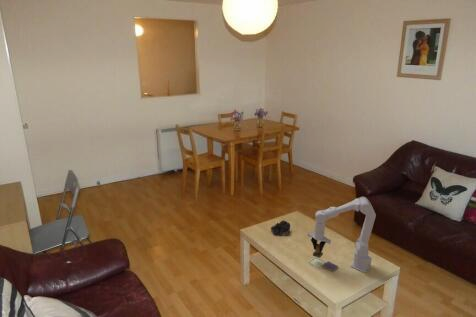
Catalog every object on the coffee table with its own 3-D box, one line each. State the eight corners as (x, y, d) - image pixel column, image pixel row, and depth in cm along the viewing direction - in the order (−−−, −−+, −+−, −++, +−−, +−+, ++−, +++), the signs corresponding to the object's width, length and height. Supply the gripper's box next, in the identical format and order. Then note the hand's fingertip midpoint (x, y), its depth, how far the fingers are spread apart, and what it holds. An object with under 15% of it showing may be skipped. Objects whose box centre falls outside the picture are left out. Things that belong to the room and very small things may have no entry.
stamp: (322, 254, 208) (323, 244, 206) (319, 258, 205) (320, 248, 203) (315, 252, 211) (316, 242, 209) (312, 255, 208) (313, 245, 205)
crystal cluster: (267, 230, 249) (267, 219, 245) (283, 224, 254) (283, 213, 250) (277, 240, 238) (277, 228, 234) (293, 234, 243) (293, 222, 239)
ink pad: (338, 267, 205) (338, 265, 205) (332, 272, 201) (333, 270, 201) (328, 262, 210) (328, 260, 210) (322, 266, 206) (322, 265, 206)
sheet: (327, 262, 210) (327, 262, 210) (319, 269, 204) (319, 268, 204) (315, 256, 216) (315, 256, 216) (306, 262, 210) (306, 262, 210)
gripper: (333, 231, 201) (332, 251, 205) (311, 223, 210) (310, 243, 214) (328, 236, 196) (327, 256, 200) (306, 228, 205) (305, 248, 209)
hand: (318, 250), depth 207 cm, fingers closed on stamp, 3 cm apart
